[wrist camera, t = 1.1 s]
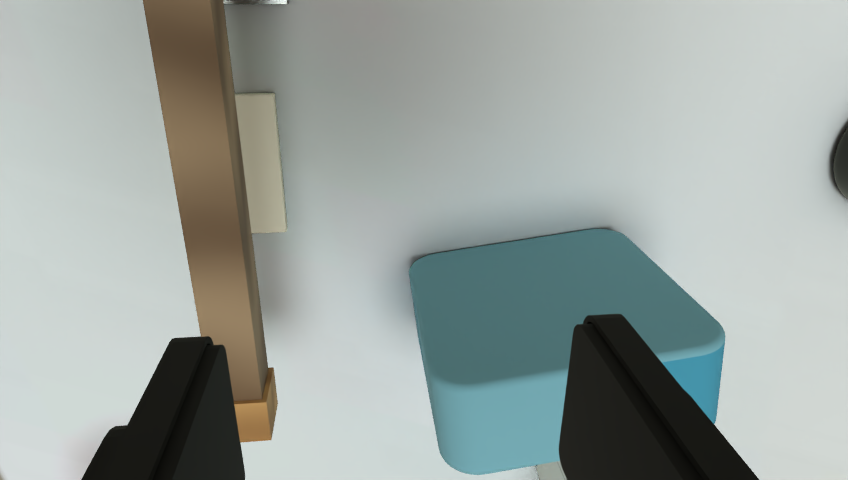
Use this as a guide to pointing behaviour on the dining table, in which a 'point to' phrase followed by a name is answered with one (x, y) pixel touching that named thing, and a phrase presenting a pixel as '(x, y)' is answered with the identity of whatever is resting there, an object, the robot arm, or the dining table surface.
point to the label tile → (262, 161)
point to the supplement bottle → (842, 164)
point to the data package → (542, 338)
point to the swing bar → (213, 195)
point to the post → (255, 1)
